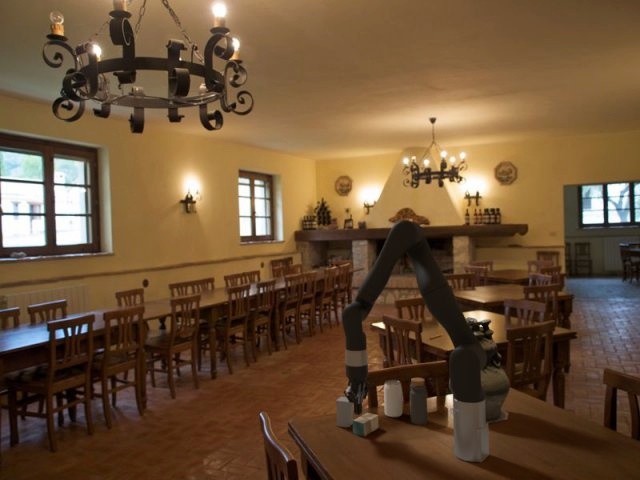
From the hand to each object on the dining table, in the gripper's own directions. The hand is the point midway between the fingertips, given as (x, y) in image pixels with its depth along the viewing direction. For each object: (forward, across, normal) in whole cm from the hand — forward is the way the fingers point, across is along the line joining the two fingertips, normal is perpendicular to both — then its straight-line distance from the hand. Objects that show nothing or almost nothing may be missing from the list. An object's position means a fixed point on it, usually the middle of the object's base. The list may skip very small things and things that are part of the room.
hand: (358, 413), depth 166 cm
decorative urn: (+7, +40, -26) cm, 48 cm away
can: (+7, +22, 0) cm, 24 cm away
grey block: (+7, +4, +9) cm, 12 cm away
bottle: (+7, +22, -11) cm, 25 cm away
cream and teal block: (+5, 0, 0) cm, 5 cm away
